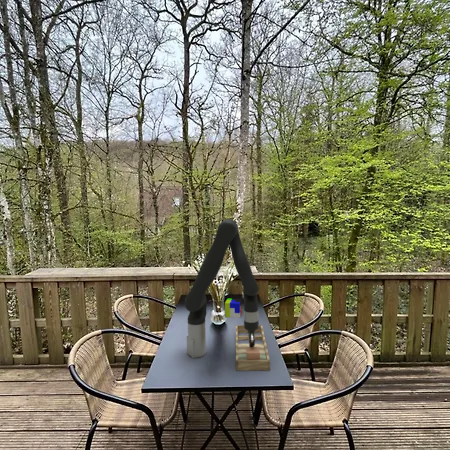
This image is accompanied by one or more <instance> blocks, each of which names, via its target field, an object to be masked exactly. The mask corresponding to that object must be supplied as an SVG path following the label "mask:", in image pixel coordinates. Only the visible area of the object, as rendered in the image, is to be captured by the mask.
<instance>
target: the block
mask: <svg viewBox="0 0 450 450" xmlns="http://www.w3.org/2000/svg"><path fill="white" fill-rule="evenodd" d="M247 360H260V352H259V347H247Z"/></svg>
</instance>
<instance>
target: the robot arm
mask: <svg viewBox="0 0 450 450" xmlns="http://www.w3.org/2000/svg"><path fill="white" fill-rule="evenodd" d="M229 247H230V251H231V255H232V261H233V264H234V267H235V269H236V272H237V275H238V277H239V278H240V281H241V284H242V292H243V325H244V328H245V329H246V330H247V333H246V334H247V335H248V340H247V341H248V344H249V347H254V346H255V344H256V343H255V342H256V340H255V336H256V335H257V333H255V330H257V329H258V328H259V325H260V322H259V318H260V317H259V302H258V299H257V298H258V296H257V294H258V293H259V285H258V283H257V281H256V278H255V275H254V273H253V272H252V268H251V265H250V262H249V260H248V257H247V255H246V253H245V249H244V247H243V243H242V241H241V237H240V232H239V226H238V223H237V222H236V221H235V220H234V219H233V218H226V219H224V220H223V221H221V222H220V224H219V225H218V227H217V230H216V234H215V237H214V239H213V242H212V244H211V246H210V248H209V250H208V251H207V253H206V255H205V257H204V259H203V261H202V263H201V265H200V268H199V269H198V270H199V271H198V273H197V275H196V278H195V280H194V283H193V284H192V286H191V288H190V290H189V291H188V293H187V295H186V297H185V299H184V307H185V309H186V310H187V312H188V315H187V336H186V354H187V355H188V356H190V357H191V358H192V359H196V358H201V357H204V356H206V354H207V338H206V337H207V336H206V334H207V333H206V317H207V308H208V306H207V305H208V304H207V303H208V302H207V296H206V291H207V290H208V288H209V287H211V285H212V283H213V282H214V281H215V279H216V277H217V276H218V274H219V271H220V270H221V268H222V265H223V262H224V259H225V255H226V251H227V249H228V248H229Z"/></svg>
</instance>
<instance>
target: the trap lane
mask: <svg viewBox="0 0 450 450" xmlns="http://www.w3.org/2000/svg"><path fill="white" fill-rule="evenodd" d="M255 333H256V336H255V341H261V342H262V343H255V346H254V347H259V352H260V360H247V347H249V343H239V341H248V333H247V330H246V329H245V328H244V324H243V325H242V324H241V325H238V324H236V325H235V371H271V361H270V355H269V351H268V345H267V341H266V338H265V337H266V336H265V332H264V327H263V325H262V324H259V328H258V329H257V330H255ZM238 334H241V335H238ZM242 334H244V335H242ZM245 334H246V335H245Z"/></svg>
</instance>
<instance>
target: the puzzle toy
mask: <svg viewBox="0 0 450 450" xmlns="http://www.w3.org/2000/svg"><path fill="white" fill-rule="evenodd" d="M242 309H243V307H242V298H227V299H226V300H225V302H224V315H225V314H226V316H227V317H226V318H232V317H234V318H233V319H240V318H241V315H242V313H243V312H242V311H243V310H242ZM241 312H242V313H241Z"/></svg>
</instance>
